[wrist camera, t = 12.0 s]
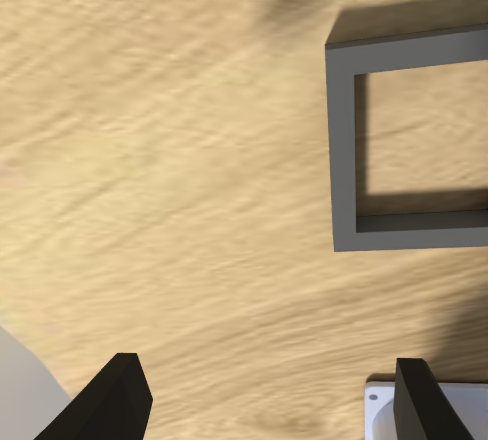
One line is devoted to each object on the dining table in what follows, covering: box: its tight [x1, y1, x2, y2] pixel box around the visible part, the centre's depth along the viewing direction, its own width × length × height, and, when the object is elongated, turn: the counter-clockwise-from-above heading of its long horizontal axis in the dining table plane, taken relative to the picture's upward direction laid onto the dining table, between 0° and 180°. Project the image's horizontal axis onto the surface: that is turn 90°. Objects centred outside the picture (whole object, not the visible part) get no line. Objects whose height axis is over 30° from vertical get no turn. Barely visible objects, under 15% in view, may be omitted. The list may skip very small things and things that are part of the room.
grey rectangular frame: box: [325, 23, 488, 252], centre depth 18 cm, size 9×8×2 cm
